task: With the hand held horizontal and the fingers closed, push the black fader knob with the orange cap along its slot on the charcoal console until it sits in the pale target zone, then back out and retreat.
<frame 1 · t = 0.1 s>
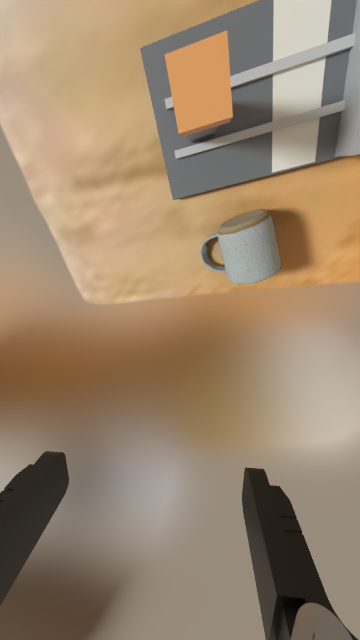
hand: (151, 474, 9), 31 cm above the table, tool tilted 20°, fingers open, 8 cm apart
console: (251, 107, 25), on the table
ceramic mug: (235, 244, 34), on the table
fader: (200, 109, 19), point 8 cm above the table, slide at 0.0 cm
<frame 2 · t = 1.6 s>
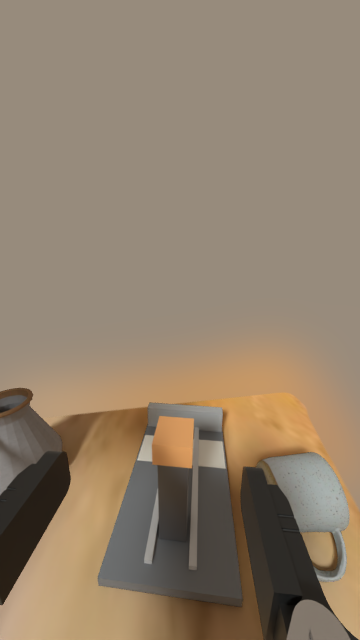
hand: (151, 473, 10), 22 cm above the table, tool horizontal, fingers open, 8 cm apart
console: (179, 483, 32), on the table
ceramic mug: (299, 524, 27), on the table
fader: (174, 481, 24), point 8 cm above the table, slide at 0.0 cm
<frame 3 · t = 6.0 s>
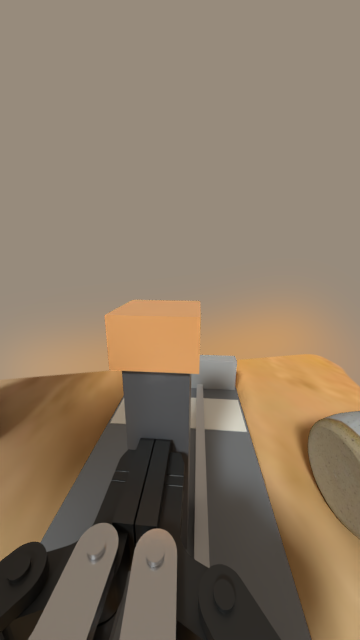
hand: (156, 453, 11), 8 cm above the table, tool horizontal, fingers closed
console: (174, 454, 20), on the table
fader: (162, 426, 12), point 8 cm above the table, slide at 0.0 cm, touching gripper
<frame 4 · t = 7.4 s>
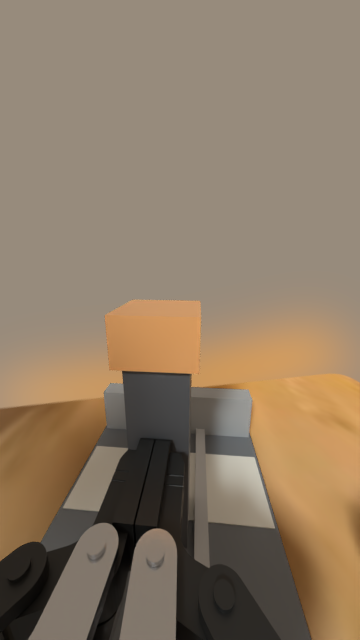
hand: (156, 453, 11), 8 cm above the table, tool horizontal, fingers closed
console: (159, 574, 12), on the table
fader: (162, 425, 12), point 8 cm above the table, slide at 8.0 cm, touching gripper
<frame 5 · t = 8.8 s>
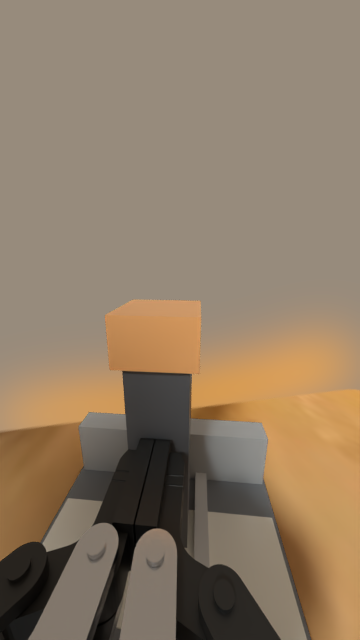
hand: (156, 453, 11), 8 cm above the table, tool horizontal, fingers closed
fader: (162, 425, 12), point 8 cm above the table, slide at 12.4 cm, touching gripper
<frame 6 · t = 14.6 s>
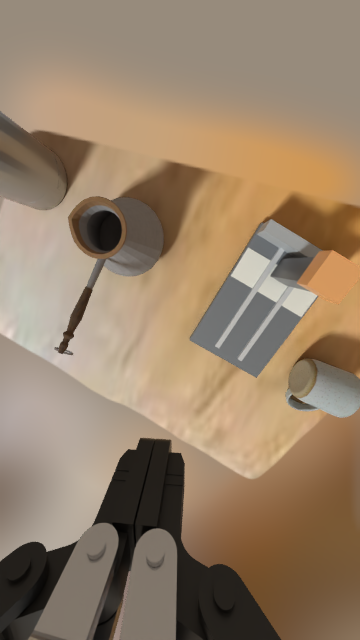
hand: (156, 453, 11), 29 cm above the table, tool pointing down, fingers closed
console: (257, 305, 37), on the table
ceramic mug: (307, 380, 40), on the table
fader: (303, 274, 27), point 8 cm above the table, slide at 12.5 cm
coffee pot: (124, 268, 38), on the table
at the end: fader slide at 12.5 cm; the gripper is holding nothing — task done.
